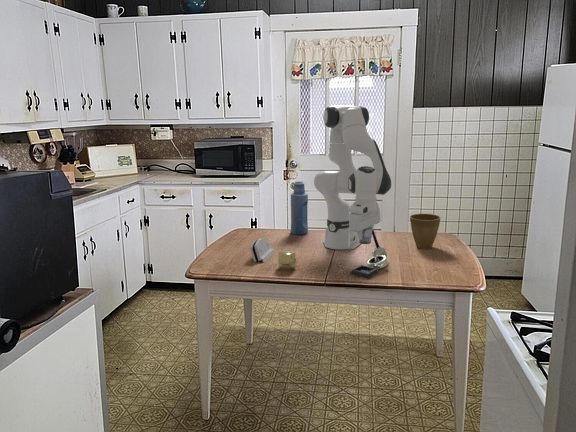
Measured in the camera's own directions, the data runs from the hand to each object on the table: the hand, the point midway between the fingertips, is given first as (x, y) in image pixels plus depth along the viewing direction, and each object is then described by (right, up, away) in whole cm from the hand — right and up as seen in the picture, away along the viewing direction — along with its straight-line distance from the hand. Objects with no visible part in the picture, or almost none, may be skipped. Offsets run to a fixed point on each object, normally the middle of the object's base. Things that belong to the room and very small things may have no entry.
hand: (365, 237), depth 208 cm
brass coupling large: (-33, -15, +13) cm, 39 cm away
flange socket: (0, -16, +4) cm, 17 cm away
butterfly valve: (+8, -14, +14) cm, 21 cm away
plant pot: (+36, -7, +40) cm, 55 cm away
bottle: (-26, -1, +70) cm, 75 cm away
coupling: (0, -2, 0) cm, 2 cm away
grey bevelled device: (-46, -11, +30) cm, 56 cm away
